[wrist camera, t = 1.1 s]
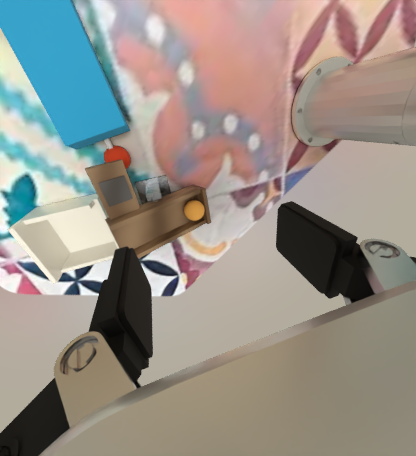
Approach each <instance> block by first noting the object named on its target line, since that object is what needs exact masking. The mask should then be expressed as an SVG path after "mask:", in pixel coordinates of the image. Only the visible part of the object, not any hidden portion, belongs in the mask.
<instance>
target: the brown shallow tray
mask: <svg viewBox="0 0 416 456" xmlns="http://www.w3.org/2000/svg"><path fill="white" fill-rule="evenodd" d="M85 170H86V172H87V174H88V176H89V178H90V180H91V182H92V184H93V186H94V188H95V190H96V192H97V195H98V197H99V199H100V201H101V203H102V205H103V207H104V209H105V211H106V213H107V215H108V217H109V218H107V219H105V221H106V223H107V225H108V227H109V229H110V231H111V233H112V235H113V237H114V239H115V241H116V243H117V245H118V247H119V248H122V247H126V246H128V247H129V248H133V249H134V251H135V253H136V255H137V257H138V259H139V258H140V257H142V256H144V255H146V254H148V253H150V252H152V251H154V250H156V249H158V248H159V247H161V246H163V245H165V244H167V243H169V242H171V241H173V240H175V239H177V238H178V237H180V236H182V235H184V234H186V233H188V232H190V231H192V230H194V229H196V228H197V227H199V226H201V225H203V224H205V223H207V224H209V223H211V220H210V213H209V207H208V201H207V195H206V189H205V188H202V187H199V186H195V185H191V186H188V187H186V188H183V189H181V190H178V191H176V192H173V193H171V194H168V195H165V196H163V197H162V198H161V199H157V200H153V201H150V202H147V203H145V204H142V205H140V206H139V203H138V201H137V198H136V195H135V193H134V190H133V187H132V185H131V182H130V179H129V177H128V174H127V171H126V169H125V166H124V163H123V161H122V160H121V159H119V160H115V161H112V162H108V163H104V164H100V165H96V166H92V167H88V168H85ZM192 200H197V201H199V202H201V203H202V204H203V206H204V210H205V211H204V215H203V217H202V218H201V219H199V220H196V221H193V220H190V219H188V218H187V217H186V216H185V213H184V207H185V205H186V204H187V203H188V202H189V201H192Z"/></svg>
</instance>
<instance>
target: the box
mask: <svg viewBox="0 0 416 456" xmlns="http://www.w3.org/2000/svg"><path fill="white" fill-rule="evenodd" d="M107 218H109V217H108V215H107V213H106V211H105V209H104V207H103V205H102V203H101V201H100V199H99V197H98V195H97V193H96V194H92V195H87V196H83V197H79V198H74V199H70V200H65V201H61V202H57V203H52V204H48V205H43V206H39V207H36V208H35V209H34V210H32V211H31V212H30V213H28V214H27V215H26V216H25V217H23V218H22V219H21V220H19V221H18V222H17V223H15V224H14V225H13V226H12V227H10V228H9V229H8V231H9V232H10V233H11V234H12V236H13V237H14V238H15V239H16V240H17V242H18V243H19V244H20V245H21V246H22V247H23V249H24V250H25V251H26V252H27V253H28V255H29V256H30V257H31V258H32V259H33V261H34V262H35V263H36V264H37V265H38V266H39V268H40V269H41V270H42V271H43V272H44V274H45V275H46V276H47V277H48V278H49V280H50V281H51V282H52V283H57V282H58V280H59V279H60V277H61V275H62V273H64V272H68V271H71V270H75V269H78V268H82V267H85V266H89V265H92V264H96V263H99V262H103V261H106V260H110V259H113V256H114V252H115V250H116V249H119V247H118V245H117V243H116V241H115V239H114V237H113V235H112V233H111V231H110V229H109V227H108V225H107V223H106V221H105V219H107Z"/></svg>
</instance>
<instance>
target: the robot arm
mask: <svg viewBox="0 0 416 456" xmlns="http://www.w3.org/2000/svg"><path fill="white" fill-rule="evenodd" d="M292 125H293V129H294V132H295V134H296V136H297V137H298V139H299V140H300V141H301V142H302V143H304V144H306V145H308V146H323V145H326V144H328V143H330V142H332V141H333V140H335V139H343V140H355V141H366V142H377V143H388V144H399V145H410V146H416V47H414V48H410V49H407V50H403V51H400V52H396V53H392V54H389V55H385V56H382V57H378V58H374V59H371V60H367V61H364V62H360V63H356V64H353V62H351V61H350V60H349V59H347V58H344V57H333V58H329V59H327V60H324V61H322V62H320V63H319V64H317V65H316V66H314V67H313V68H312V69H311V70H310V71H309V72H308V74H307V75H306V76H305V78H304V79H303V81H302V82H301V84H300V86H299V88H298V90H297V93H296V96H295V99H294V103H293V108H292ZM356 241H357V237H356V236H354V235H352V234H350V233H348V232H347V231H345V230H343V229H341V228H339V227H338V226H336V225H334V224H332V223H331V222H329V221H327V220H325V219H323V218H322V217H320V216H318V215H316V214H314V213H312V212H311V211H309V210H307V209H305V208H303V207H302V206H300V205H298V204H296V203H294V202H292V201H291V202H287V203H284V204H281V206H280V207H279V209H278V219H277V238H276V247H277V250H278V251H279V252H280V253H281V254H282V255H283V256H284V257H285V258H286V259H287V260H288V261H289V262H290V263H291V264H292V265H293V266H294V267H295V268H296V269H297V270H298V271H299V272H300V273H301V274H302V275H303V276H304V277H305V278H306V279H307V280H308V281H309V282H310V283H311V284H312V285H313V286H314V287H315V288H316V289H317V290H318V291H319V292H321V293H324V294H325V295H326V296H327V297H328V298H333V297H335V296H338V295H339V293H341V294H342V295H343V297H344V300H345V303H346V306H343V307H341V308H338V309H336V310H333V311H330V312H328V313H325V314H323V315H320V316H318V317H315V318H312V319H310V320H307V321H305V322H302V323H300V324H297V325H294V326H292V327H289V328H287V329H284V330H282V331H279V332H277V333H274V334H271V335H269V336H266V337H264V338H261V339H259V340H256V341H254V342H251V343H248V344H246V345H244V346H241V347H239V348H236V349H234V350H231V351H228V352H226V353H223V354H221V355H218V356H216V357H213V358H211V359H208V360H206V361H203V362H201V363H199V364H196V365H193V366H191V367H188V368H186V369H183V370H181V371H178V372H176V373H174V374H171V375H169V376H167V377H164V378H162V379H159V380H157V381H155V382H152V383H150V384H147V385H145V386H141V384H140V383H139V381H138V378H139V377H140V375H141V370H142V369H145V368H147V367H149V366H148V365H149V358H150V357H152V355H153V345H152V303H151V301H152V300H151V287H150V284H149V282H148V279H147V277H146V275H145V273H144V271H143V268H142V266H141V264H140V262H139V259H138V257H137V255H136V253H135V251H134V249H133V248H129V247H128V246H126V247H122V248H119V249H116V250H115V252H114V256H113V260H112V264H111V268H110V272H109V276H108V279H107V280H104V281H103V283H102V286H101V289H100V293H99V296H98V300H97V303H96V307H95V310H94V314H93V318H92V321H91V325H90V329H89V332H87V333H84V334H82V335H80V336H78V337H77V338H75V339H74V340H72V341H71V342H70V343H69V344H68V345H67V346H66V347H65V348H64V349H63V351H62V352H61V353H60V355H59V357H58V358H57V360H56V363H55V366H54V376H55V378H54V379H53V380H52V381H51V382H50V383H49V384H48V385H47V386H46V387H45V388H44V389H43V390H42V391H41V392H40V393H39V394H38V395H37V396H36V397H35V398H34V399H33V400H32V402H31V403H30V404H29V405H28V406H27V407H26V408H25V409H24V410H23V411H22V412H21V413H20V414H19V415H18V416H17V417H16V418H15V419H14V420H13V421H12V422H11V423H10V424H9V425H8V426H7V427H6V428H5V429H4V430H3V431H2V432H1V433H0V456H416V258H415V257H409V256H408V255H407V254H406V253H405V251H404V250H403V249H402V248H400V247H399V246H397V245H395V244H393V243H391V242H388V241H384V240H379V239H367V240H364V241H362V242H361V243H360V245H359V244H357V243H356Z"/></svg>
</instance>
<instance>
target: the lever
mask: <svg viewBox="0 0 416 456" xmlns="http://www.w3.org/2000/svg"><path fill="white" fill-rule="evenodd" d="M0 28H1V29H2V31H3V33H4V35H5V37H6V38H7V40H8V42H9V44H10V46H11V47H12V49H13V51H14V53H15V55H16V57H17V58H18V60H19V62H20V64H21V66H22V67H23V69H24V71H25V73H26V75H27V76H28V78H29V80H30V82H31V84H32V86H33V87H34V89H35V91H36V93H37V95H38V96H39V98H40V100H41V102H42V104H43V105H44V107H45V109H46V111H47V113H48V115H49V116H50V118H51V120H52V122H53V124H54V125H55V127H56V129H57V131H58V133H59V134H60V136H61V138H62V140H63V142H64V144H65V145H66V146H69V147H72V148H74V149H80V148H82V147H85V146H88V145H91V144H94V143H96V142H99V141H102V140H104V142H105V144H106V145H107V147H108V149H107V150H106V151H105V153H104V160H105V163H108V162H112V161H115V160H119V159H121V160H122V161H123V163H124V166H125V169H127V168H128V167H129V165H130V162H131V160H130V156H129V154H128V152H127V151H126V150H125V149H124V148H122V147H120V146H113V144H112V143H111V141H110V139H109V138H111V137H113V136H116V135H119V134H122V133H125V132H127V131H130V129H129V127H128V125H127V123H126V120H125V118H124V116H123V114H122V111H121V109H120V107H119V105H118V102H117V100H116V98H115V96H114V94H113V91H112V89H111V87H110V85H109V82H108V80H107V78H106V76H105V73H104V71H103V69H102V67H101V64H100V62H99V60H98V58H97V55H96V53H95V51H94V49H93V46H92V44H91V42H90V40H89V37H88V35H87V33H86V31H85V28H84V26H83V24H82V22H81V20H80V17H79V15H78V13H77V11H76V8H75V6H74V4H73V2H72V0H0Z"/></svg>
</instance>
